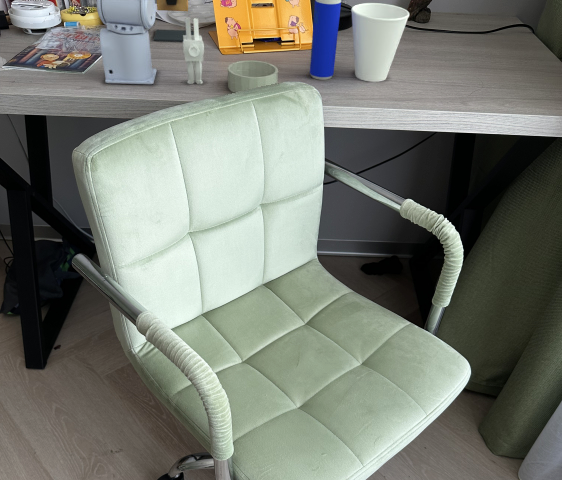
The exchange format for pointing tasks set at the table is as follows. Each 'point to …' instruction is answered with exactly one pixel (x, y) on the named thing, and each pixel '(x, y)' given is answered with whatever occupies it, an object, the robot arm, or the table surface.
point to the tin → (251, 75)
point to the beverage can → (324, 38)
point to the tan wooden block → (180, 5)
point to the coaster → (170, 35)
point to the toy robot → (193, 52)
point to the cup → (376, 38)
